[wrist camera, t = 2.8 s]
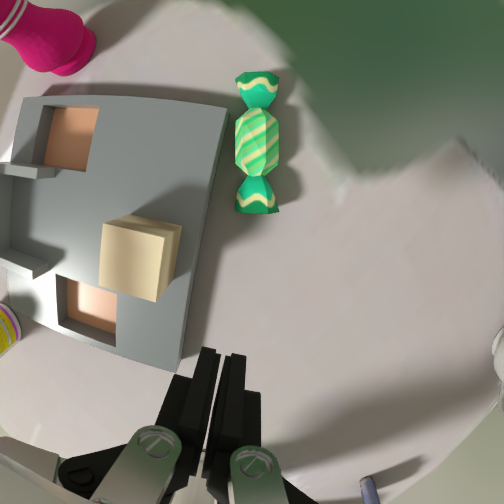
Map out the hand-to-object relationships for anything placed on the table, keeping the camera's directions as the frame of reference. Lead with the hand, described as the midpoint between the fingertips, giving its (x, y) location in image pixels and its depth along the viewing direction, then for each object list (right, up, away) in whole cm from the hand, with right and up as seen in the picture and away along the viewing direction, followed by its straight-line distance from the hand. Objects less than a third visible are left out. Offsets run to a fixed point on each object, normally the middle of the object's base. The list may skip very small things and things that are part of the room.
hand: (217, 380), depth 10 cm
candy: (+2, +15, +15) cm, 21 cm away
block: (-8, +5, +14) cm, 17 cm away
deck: (-15, +8, +17) cm, 24 cm away
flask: (+23, -40, +28) cm, 54 cm away
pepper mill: (-19, +27, +12) cm, 35 cm away
